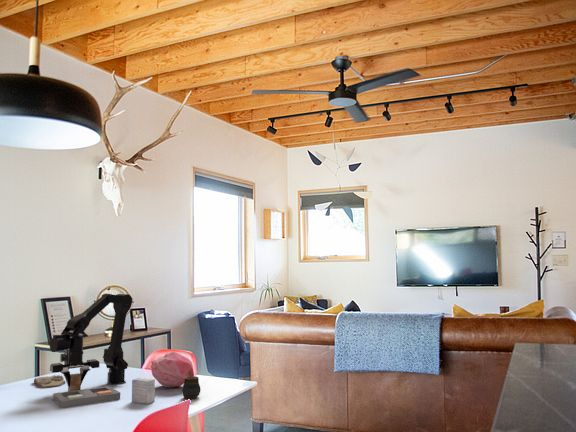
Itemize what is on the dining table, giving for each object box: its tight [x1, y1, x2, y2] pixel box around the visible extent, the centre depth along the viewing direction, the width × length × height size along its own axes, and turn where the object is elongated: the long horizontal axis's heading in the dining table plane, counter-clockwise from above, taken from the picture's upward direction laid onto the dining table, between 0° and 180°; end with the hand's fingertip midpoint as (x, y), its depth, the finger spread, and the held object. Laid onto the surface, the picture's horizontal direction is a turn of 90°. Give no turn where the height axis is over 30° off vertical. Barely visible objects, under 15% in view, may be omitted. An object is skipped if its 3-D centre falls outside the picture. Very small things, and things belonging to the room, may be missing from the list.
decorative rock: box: [150, 351, 195, 389], centre depth 233 cm, size 19×14×15 cm
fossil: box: [33, 375, 66, 389], centre depth 237 cm, size 11×15×4 cm
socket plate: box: [52, 385, 121, 409], centre depth 211 cm, size 22×14×3 cm, turn 126°
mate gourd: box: [181, 371, 202, 400], centre depth 215 cm, size 7×8×10 cm
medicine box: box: [131, 377, 156, 405], centre depth 208 cm, size 8×4×9 cm, turn 65°
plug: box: [67, 372, 82, 392], centre depth 223 cm, size 4×4×7 cm
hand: (74, 386), depth 223 cm, fingers closed on plug, 4 cm apart
